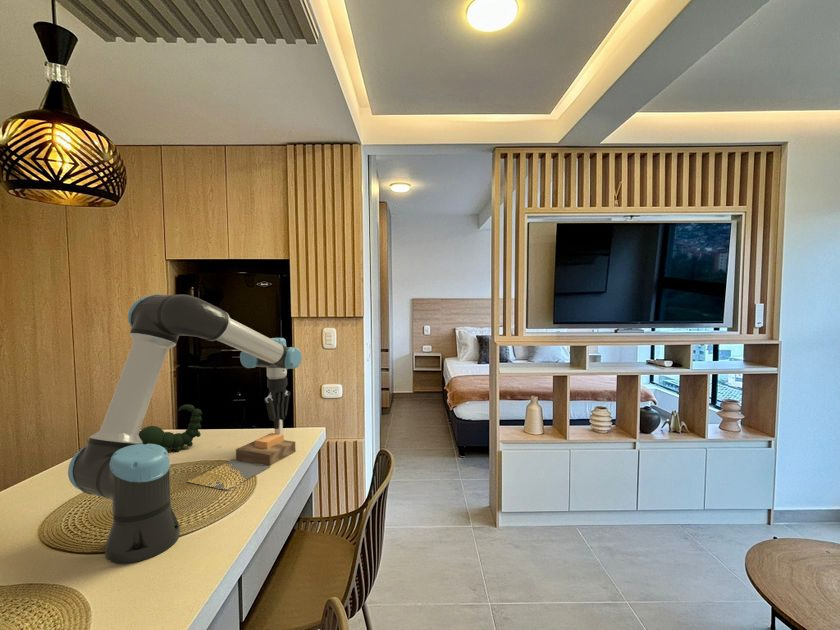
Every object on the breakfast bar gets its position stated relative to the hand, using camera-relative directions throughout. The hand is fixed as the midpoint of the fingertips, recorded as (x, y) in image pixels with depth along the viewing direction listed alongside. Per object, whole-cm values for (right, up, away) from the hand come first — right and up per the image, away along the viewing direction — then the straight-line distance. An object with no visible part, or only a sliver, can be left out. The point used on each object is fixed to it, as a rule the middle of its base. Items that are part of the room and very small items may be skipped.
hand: (278, 435), depth 162 cm
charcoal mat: (-9, -7, -23) cm, 25 cm away
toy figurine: (-44, -6, 0) cm, 45 cm away
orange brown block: (-2, -2, -5) cm, 5 cm away
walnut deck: (-2, -6, -6) cm, 9 cm away
